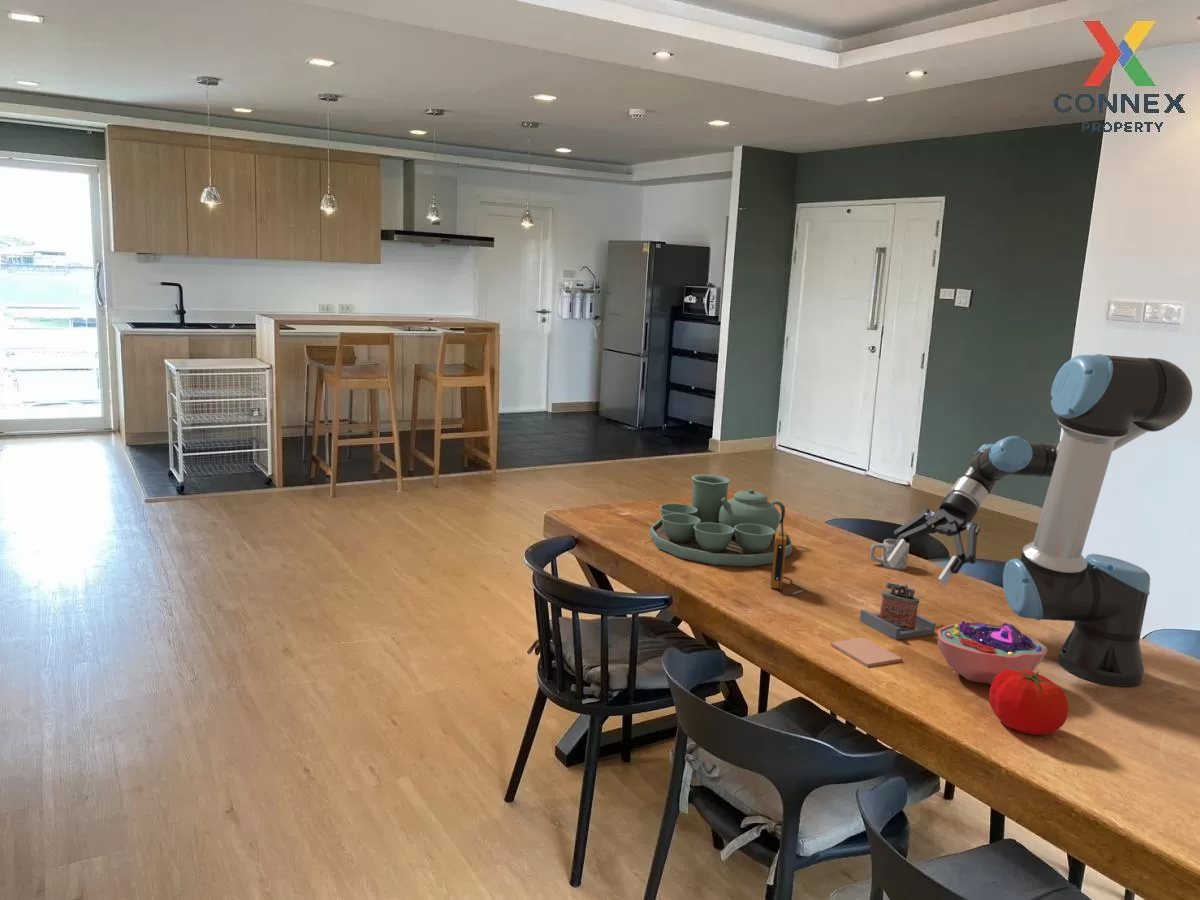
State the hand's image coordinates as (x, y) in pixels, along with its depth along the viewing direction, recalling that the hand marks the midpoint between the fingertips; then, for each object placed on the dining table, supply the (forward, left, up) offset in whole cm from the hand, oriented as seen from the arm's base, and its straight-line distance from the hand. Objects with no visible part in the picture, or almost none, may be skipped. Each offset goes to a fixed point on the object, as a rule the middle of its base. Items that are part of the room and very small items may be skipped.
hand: (915, 573), depth 199 cm
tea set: (+62, +11, -12) cm, 64 cm away
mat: (-12, +23, -11) cm, 28 cm away
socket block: (-3, +6, -11) cm, 13 cm away
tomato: (-46, +18, -12) cm, 50 cm away
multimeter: (+26, +13, -11) cm, 32 cm away
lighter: (-3, +6, -11) cm, 13 cm away
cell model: (-29, +8, -12) cm, 32 cm away
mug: (+33, -25, -12) cm, 43 cm away
